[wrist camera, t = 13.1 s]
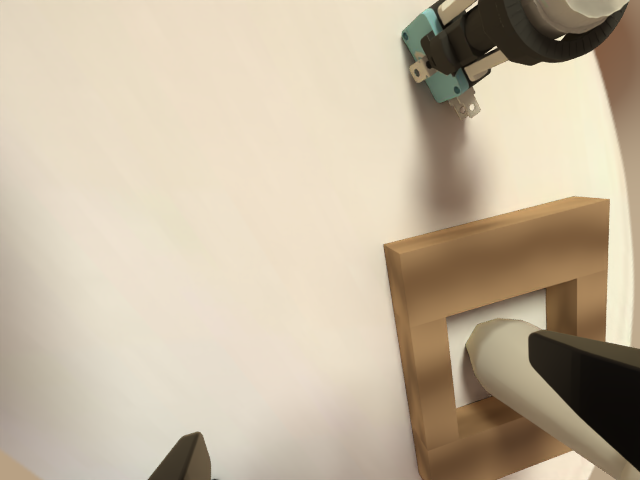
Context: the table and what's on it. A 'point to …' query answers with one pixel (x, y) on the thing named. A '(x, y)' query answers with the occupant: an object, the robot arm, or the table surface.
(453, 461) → the wooden flat frame
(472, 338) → the salt shaker
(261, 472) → the table surface
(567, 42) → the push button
